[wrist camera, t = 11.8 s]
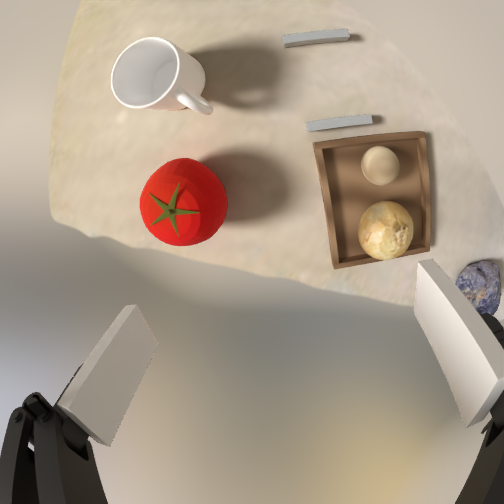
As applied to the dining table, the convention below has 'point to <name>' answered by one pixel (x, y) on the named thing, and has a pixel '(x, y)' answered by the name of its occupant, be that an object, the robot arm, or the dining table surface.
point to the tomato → (183, 203)
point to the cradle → (322, 38)
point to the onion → (385, 230)
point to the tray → (372, 191)
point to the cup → (159, 77)
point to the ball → (380, 165)
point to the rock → (481, 286)
